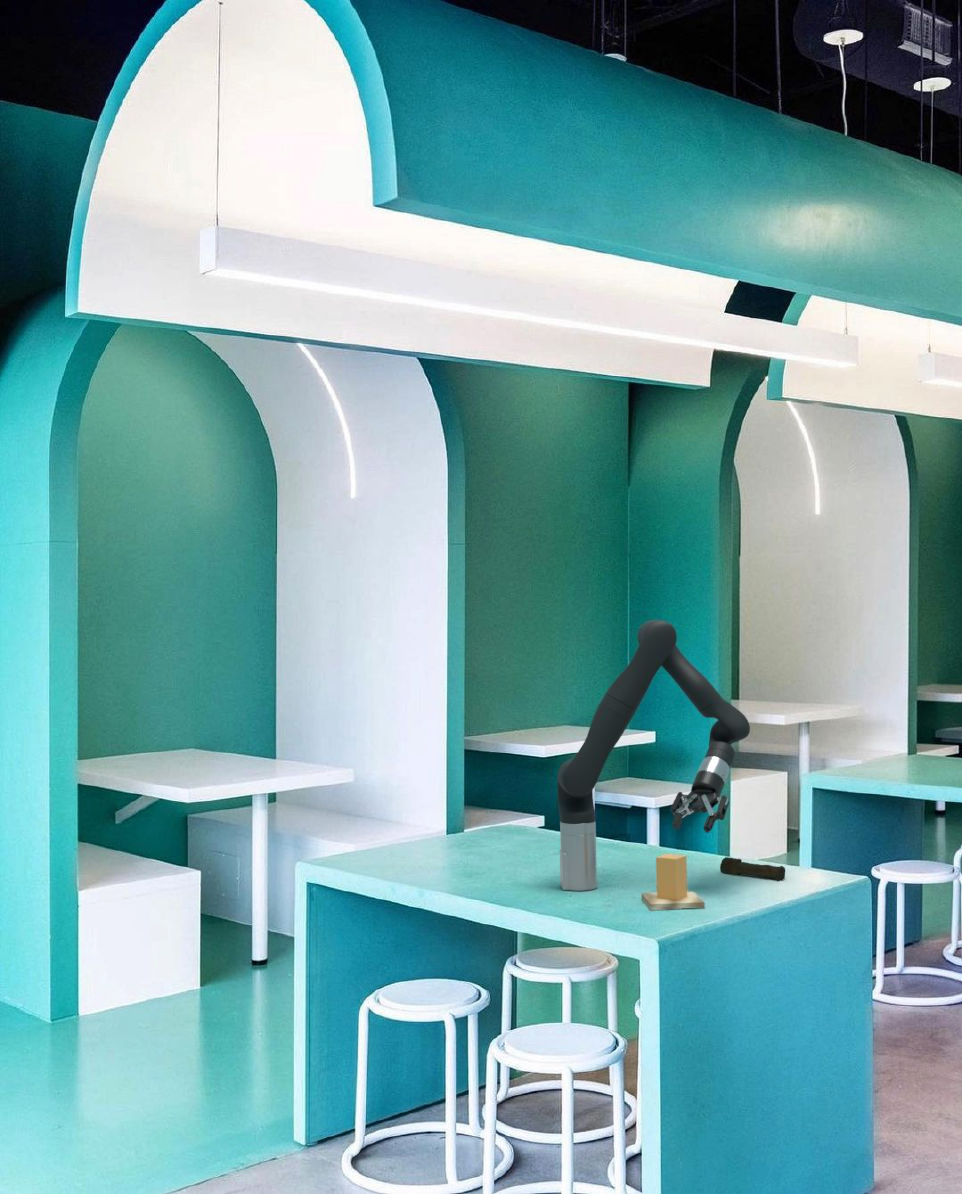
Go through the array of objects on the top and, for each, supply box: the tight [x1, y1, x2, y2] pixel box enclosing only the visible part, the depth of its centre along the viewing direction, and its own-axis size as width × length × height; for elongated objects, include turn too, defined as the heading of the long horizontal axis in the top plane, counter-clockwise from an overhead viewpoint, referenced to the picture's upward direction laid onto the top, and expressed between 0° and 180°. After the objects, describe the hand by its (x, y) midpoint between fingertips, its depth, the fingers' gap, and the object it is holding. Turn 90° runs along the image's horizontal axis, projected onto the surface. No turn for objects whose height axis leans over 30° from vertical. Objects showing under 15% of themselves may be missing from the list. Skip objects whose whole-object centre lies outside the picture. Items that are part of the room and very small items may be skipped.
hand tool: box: [719, 856, 786, 882], centre depth 370 cm, size 19×4×5 cm, turn 46°
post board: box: [641, 890, 706, 911], centre depth 338 cm, size 13×13×8 cm
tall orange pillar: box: [655, 853, 688, 901], centre depth 338 cm, size 5×5×10 cm
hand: (690, 829), depth 346 cm, fingers open, 8 cm apart
